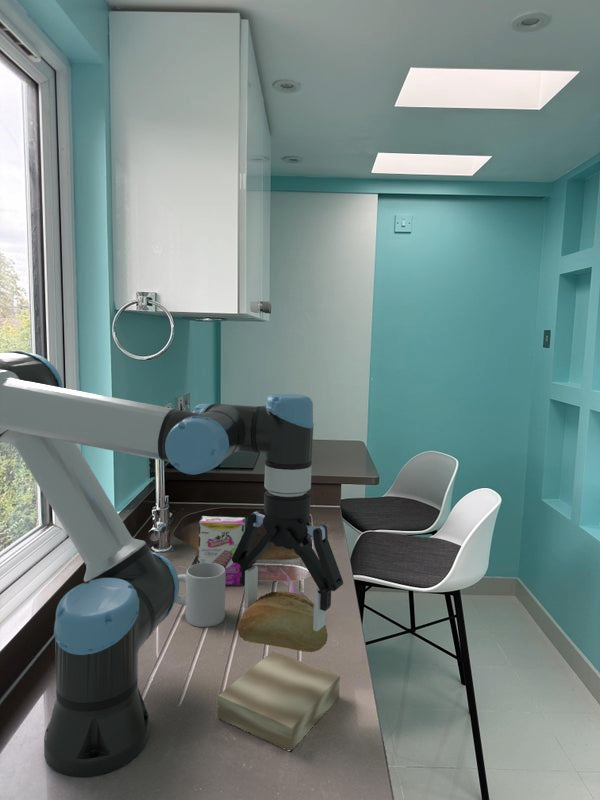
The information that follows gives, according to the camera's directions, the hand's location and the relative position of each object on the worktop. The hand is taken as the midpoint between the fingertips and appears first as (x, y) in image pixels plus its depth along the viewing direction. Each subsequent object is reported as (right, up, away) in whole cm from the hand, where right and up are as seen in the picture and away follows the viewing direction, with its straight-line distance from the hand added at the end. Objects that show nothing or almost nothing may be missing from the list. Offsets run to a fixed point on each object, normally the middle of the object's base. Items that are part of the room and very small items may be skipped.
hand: (283, 616), depth 96 cm
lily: (+2, -13, +35) cm, 37 cm away
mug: (-20, -12, +32) cm, 39 cm away
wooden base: (-1, -16, +2) cm, 16 cm away
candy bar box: (-17, -10, +50) cm, 54 cm away
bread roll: (0, -5, +1) cm, 5 cm away
